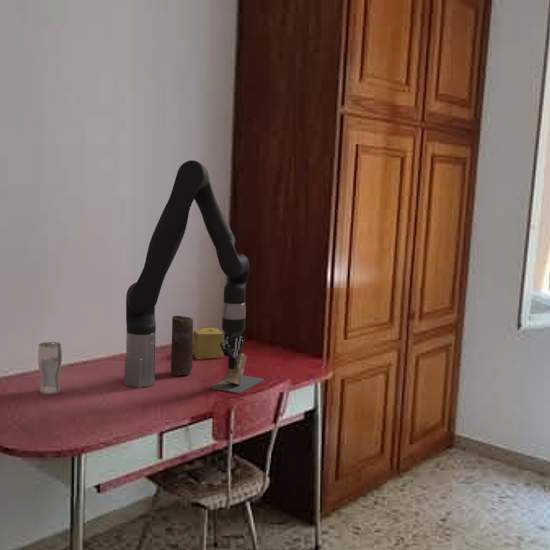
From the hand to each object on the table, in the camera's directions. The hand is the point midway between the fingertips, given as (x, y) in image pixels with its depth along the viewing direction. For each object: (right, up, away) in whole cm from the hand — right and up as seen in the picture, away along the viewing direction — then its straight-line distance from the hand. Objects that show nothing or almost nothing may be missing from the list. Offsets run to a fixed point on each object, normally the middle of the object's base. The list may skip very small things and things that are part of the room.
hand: (232, 368), depth 233 cm
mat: (+2, -6, +5) cm, 8 cm away
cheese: (-12, -1, +40) cm, 41 cm away
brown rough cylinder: (-18, -4, +14) cm, 24 cm away
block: (0, -5, +2) cm, 5 cm away
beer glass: (-56, -6, -11) cm, 57 cm away
